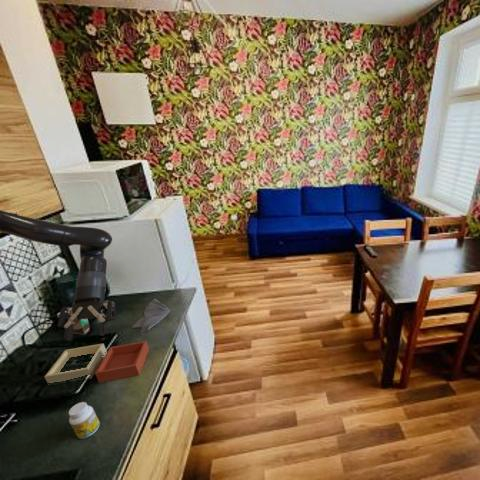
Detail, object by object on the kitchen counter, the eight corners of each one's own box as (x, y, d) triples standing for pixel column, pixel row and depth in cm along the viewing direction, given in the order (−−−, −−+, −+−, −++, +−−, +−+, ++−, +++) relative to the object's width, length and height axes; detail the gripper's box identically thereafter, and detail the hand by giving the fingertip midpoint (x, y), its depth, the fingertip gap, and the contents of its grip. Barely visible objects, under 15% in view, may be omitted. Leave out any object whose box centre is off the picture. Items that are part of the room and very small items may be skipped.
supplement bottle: (104, 420, 83) (94, 399, 79) (91, 439, 78) (80, 417, 74) (86, 421, 82) (75, 399, 79) (72, 439, 77) (60, 418, 74)
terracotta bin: (99, 383, 95) (94, 373, 93) (113, 356, 106) (110, 347, 104) (139, 375, 98) (136, 365, 96) (149, 349, 109) (146, 340, 107)
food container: (100, 326, 122) (93, 308, 118) (87, 335, 116) (80, 317, 112) (78, 322, 124) (70, 304, 120) (64, 331, 118) (56, 313, 114)
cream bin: (49, 386, 93) (44, 376, 91) (69, 359, 104) (65, 349, 102) (92, 378, 96) (87, 368, 94) (107, 352, 107) (103, 343, 106)
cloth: (160, 330, 119) (159, 326, 118) (126, 334, 117) (125, 330, 116) (177, 297, 143) (176, 293, 142) (149, 300, 140) (148, 296, 139)
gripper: (57, 287, 83) (48, 342, 77) (110, 281, 87) (105, 332, 81) (72, 292, 90) (65, 343, 84) (121, 286, 94) (117, 334, 88)
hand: (85, 338), depth 83 cm, fingers open, 8 cm apart
